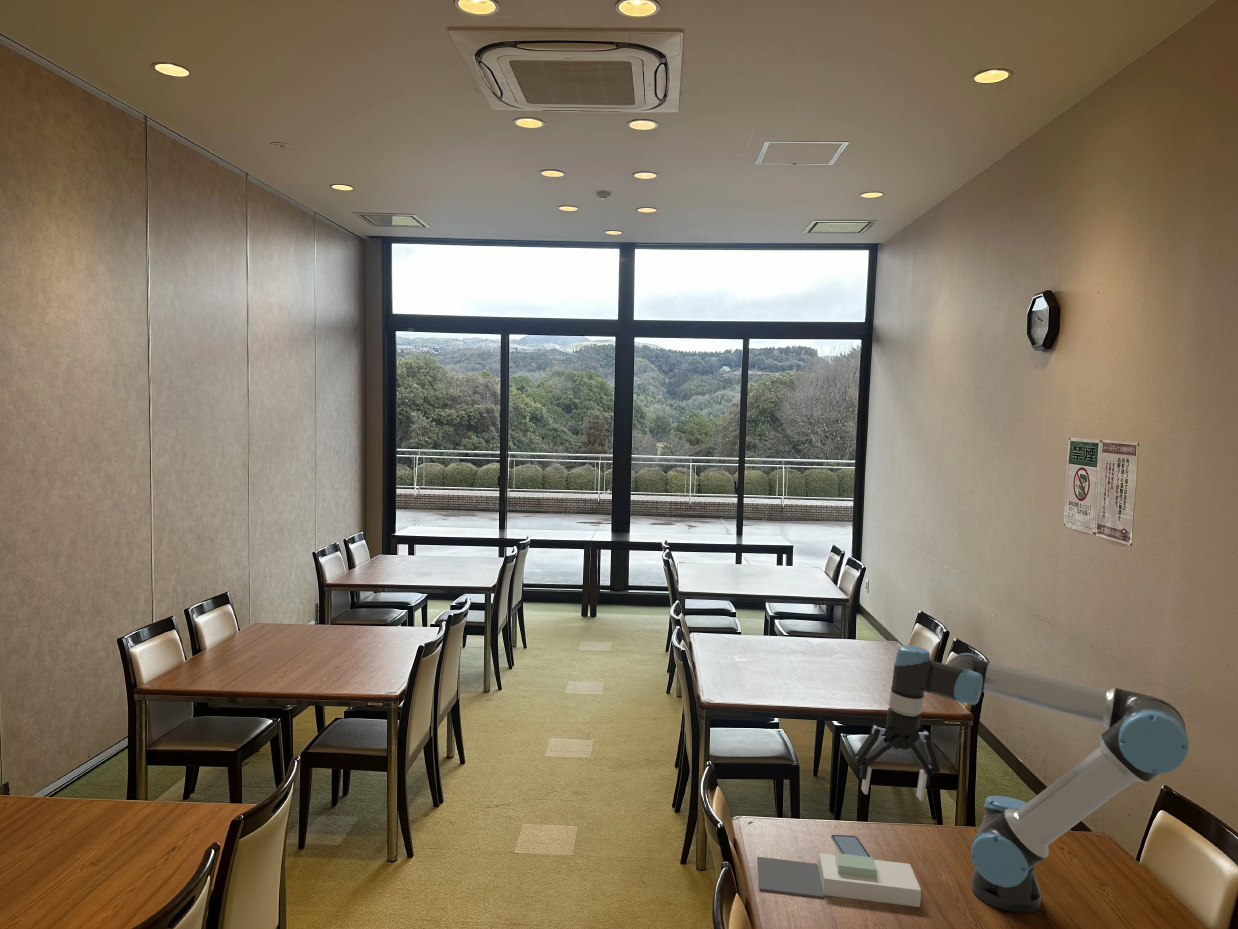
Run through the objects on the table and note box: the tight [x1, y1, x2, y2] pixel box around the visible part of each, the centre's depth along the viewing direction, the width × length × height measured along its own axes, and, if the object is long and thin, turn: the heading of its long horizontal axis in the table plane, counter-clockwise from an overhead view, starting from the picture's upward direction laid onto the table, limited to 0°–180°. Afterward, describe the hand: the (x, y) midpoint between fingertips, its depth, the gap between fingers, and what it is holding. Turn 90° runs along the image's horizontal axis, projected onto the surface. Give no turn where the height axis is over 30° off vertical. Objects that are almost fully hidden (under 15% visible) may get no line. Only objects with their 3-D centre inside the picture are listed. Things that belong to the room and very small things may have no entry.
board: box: [817, 852, 922, 908], centre depth 197 cm, size 22×12×4 cm, turn 82°
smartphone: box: [830, 834, 872, 857], centre depth 215 cm, size 7×1×15 cm
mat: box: [757, 856, 825, 899], centre depth 200 cm, size 15×15×1 cm
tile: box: [834, 852, 877, 878], centre depth 198 cm, size 9×6×2 cm, turn 82°
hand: (892, 795), depth 198 cm, fingers open, 13 cm apart
